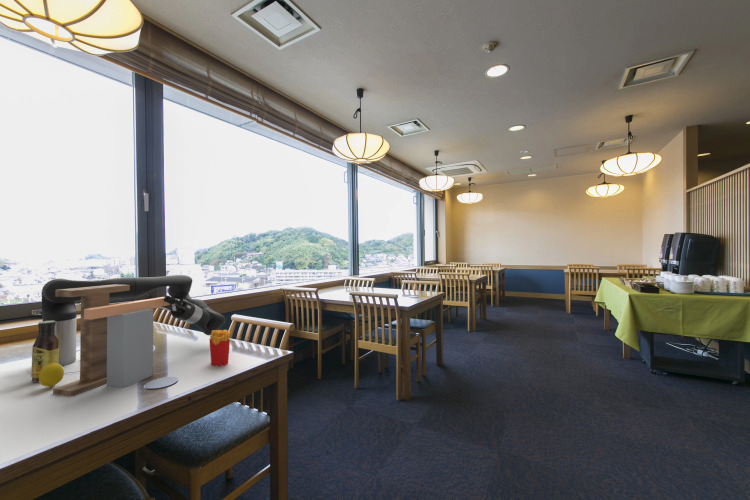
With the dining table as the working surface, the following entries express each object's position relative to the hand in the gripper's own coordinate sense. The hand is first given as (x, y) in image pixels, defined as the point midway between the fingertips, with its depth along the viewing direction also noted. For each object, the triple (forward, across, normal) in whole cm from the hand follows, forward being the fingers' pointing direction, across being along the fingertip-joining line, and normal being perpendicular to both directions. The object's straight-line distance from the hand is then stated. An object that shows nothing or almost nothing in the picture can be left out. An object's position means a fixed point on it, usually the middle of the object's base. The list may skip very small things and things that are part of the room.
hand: (155, 297), depth 110 cm
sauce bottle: (-1, +30, -31) cm, 43 cm away
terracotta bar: (+6, 0, -7) cm, 9 cm away
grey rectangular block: (-6, 0, -28) cm, 28 cm away
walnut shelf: (-2, +10, -30) cm, 32 cm away
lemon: (+3, +20, -33) cm, 38 cm away
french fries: (-23, -18, -18) cm, 35 cm away
